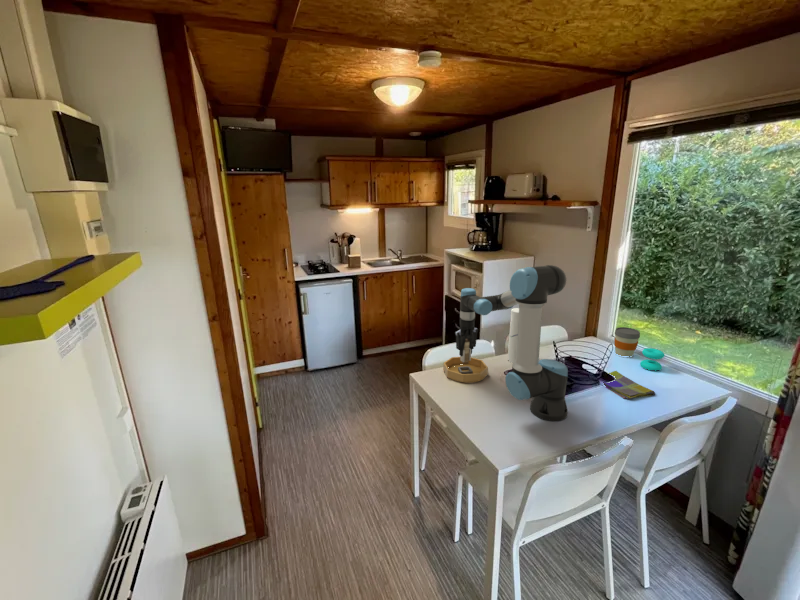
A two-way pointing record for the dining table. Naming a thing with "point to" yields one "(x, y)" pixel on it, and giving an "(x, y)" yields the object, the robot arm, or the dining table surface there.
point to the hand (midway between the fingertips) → (465, 360)
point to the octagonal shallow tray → (465, 370)
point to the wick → (466, 351)
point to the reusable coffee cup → (626, 341)
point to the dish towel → (627, 387)
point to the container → (513, 335)
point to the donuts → (653, 355)
